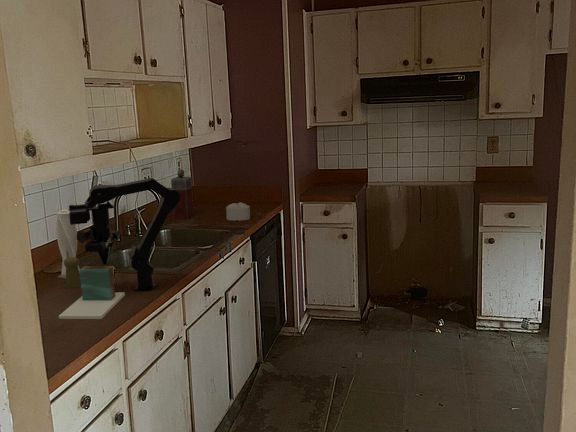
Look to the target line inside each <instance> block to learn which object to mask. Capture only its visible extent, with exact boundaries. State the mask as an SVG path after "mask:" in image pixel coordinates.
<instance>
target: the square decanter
mask: <svg viewBox="0 0 576 432" xmlns="http://www.w3.org/2000/svg"><path fill="white" fill-rule="evenodd" d="M192 179H193V178H192V176H185V170H184V169H178V171H177V176H176V177H173V178H171V180H170V182H171V183H170V184H171V187H170V188H173V189H174V190H176V191H177V192H178V193H179V194H180V197H181V198H180V201H179V203H178V204H177V206H176V207H175V208H174V209H173V210H172V214H173V215H172V218H173V220H189V219H191V218H194V216H195V215H194V214H195V213H194V201H193V200H194V198H193V185H192V184H193V182H192V181H193V180H192Z"/></svg>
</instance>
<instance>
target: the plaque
mask: <svg viewBox="0 0 576 432" xmlns="http://www.w3.org/2000/svg"><path fill="white" fill-rule="evenodd" d="M80 279H81V287H80V288H81V297H82V299H83V300H112V299H113V298H114V297H115V292H116V289H115V279H114V267H113V266H112V265H107V266H106V265H104V266H103V265H94V266H90V265H86V266H85V265H84V266H83V267H81V268H80Z"/></svg>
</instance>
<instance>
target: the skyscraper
mask: <svg viewBox="0 0 576 432" xmlns="http://www.w3.org/2000/svg"><path fill="white" fill-rule="evenodd" d="M55 212H56V238H57V239H56V240H57V244H58V249H59V251H60V252H59V253H60V255H61V258H62V262H61V263H62V264H61V274H60V275H58V276H57V278H59V279H64V280H66V267H65V265H64V260H65V259H66V258H69V257H76V256H77V250H78V240H77V237H76V236H77V233H78V231H77V226H76V225H77V224H75V225H70V219H69V209H61V210H59V206H58V205H56V211H55ZM76 258H77V257H76ZM78 269H79V273H80V269H81V268H80V265H79V264H78Z"/></svg>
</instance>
